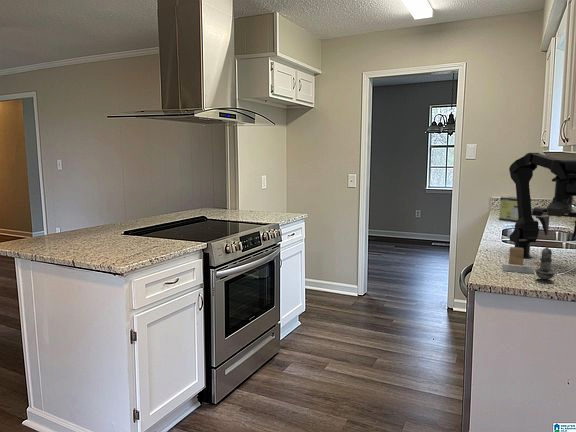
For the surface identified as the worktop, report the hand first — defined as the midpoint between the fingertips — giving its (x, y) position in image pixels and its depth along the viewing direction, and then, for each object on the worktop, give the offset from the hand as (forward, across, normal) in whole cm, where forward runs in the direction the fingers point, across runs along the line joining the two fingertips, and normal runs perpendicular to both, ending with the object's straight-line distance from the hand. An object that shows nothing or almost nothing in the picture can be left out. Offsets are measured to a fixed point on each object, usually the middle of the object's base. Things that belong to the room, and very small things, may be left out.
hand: (559, 237), depth 163 cm
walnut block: (+12, -13, -4) cm, 18 cm away
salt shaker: (+12, +4, -23) cm, 26 cm away
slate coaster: (+12, -8, -14) cm, 20 cm away
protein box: (+13, -68, +121) cm, 139 cm away
